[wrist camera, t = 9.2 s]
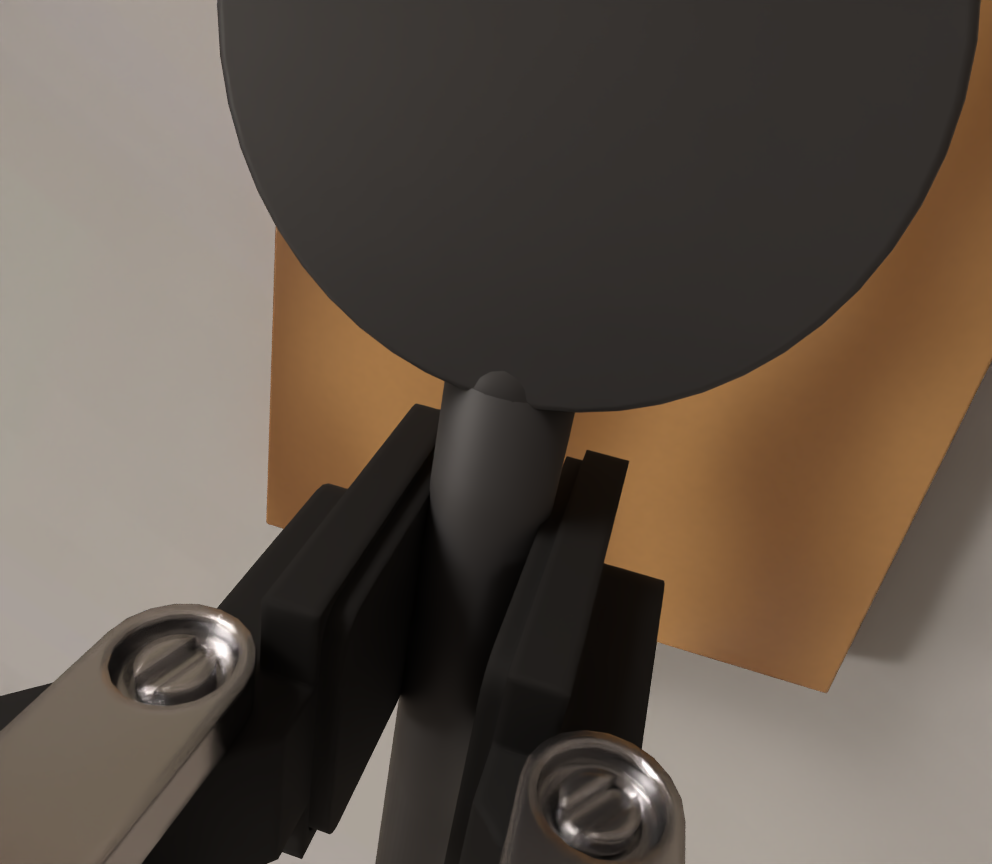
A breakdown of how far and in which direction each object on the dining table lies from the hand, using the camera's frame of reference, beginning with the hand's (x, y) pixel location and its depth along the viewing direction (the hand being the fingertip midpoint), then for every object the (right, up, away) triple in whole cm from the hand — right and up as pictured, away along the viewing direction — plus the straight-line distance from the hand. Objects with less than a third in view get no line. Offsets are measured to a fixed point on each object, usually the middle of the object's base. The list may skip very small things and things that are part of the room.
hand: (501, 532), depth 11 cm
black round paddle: (0, +1, 0) cm, 1 cm away
